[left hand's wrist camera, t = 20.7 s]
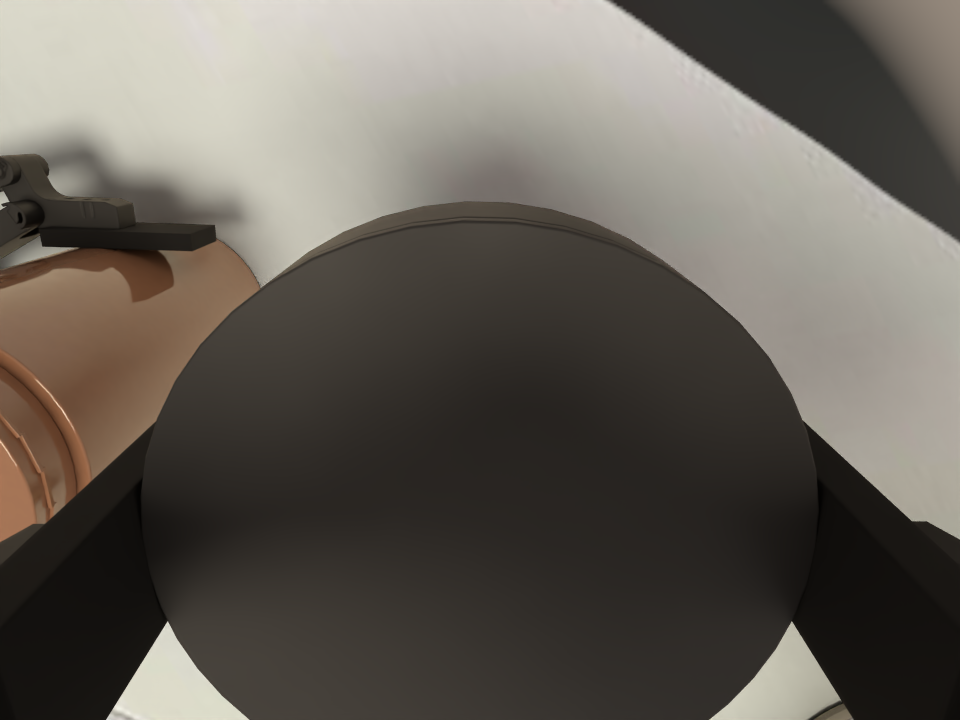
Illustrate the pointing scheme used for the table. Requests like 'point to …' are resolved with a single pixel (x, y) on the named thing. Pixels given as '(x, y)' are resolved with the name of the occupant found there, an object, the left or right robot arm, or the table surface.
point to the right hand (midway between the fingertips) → (216, 347)
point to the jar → (96, 360)
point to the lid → (479, 482)
